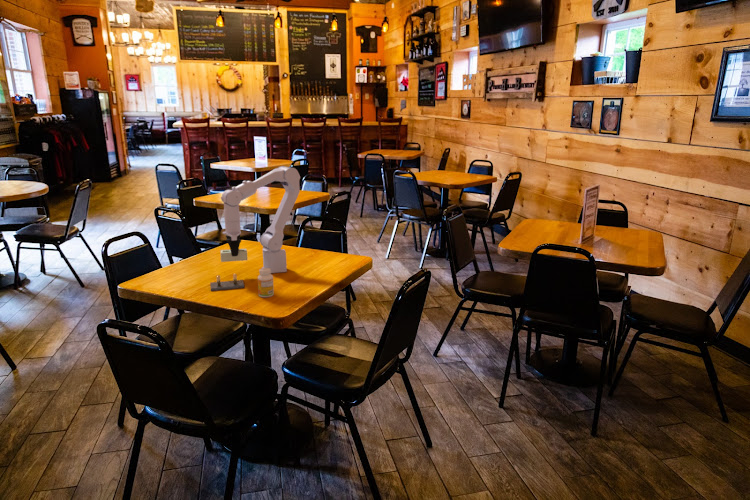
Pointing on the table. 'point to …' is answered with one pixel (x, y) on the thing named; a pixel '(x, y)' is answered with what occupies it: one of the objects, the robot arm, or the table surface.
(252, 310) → the table surface
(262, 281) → the supplement bottle
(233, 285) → the base
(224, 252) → the hollow breeze brick
